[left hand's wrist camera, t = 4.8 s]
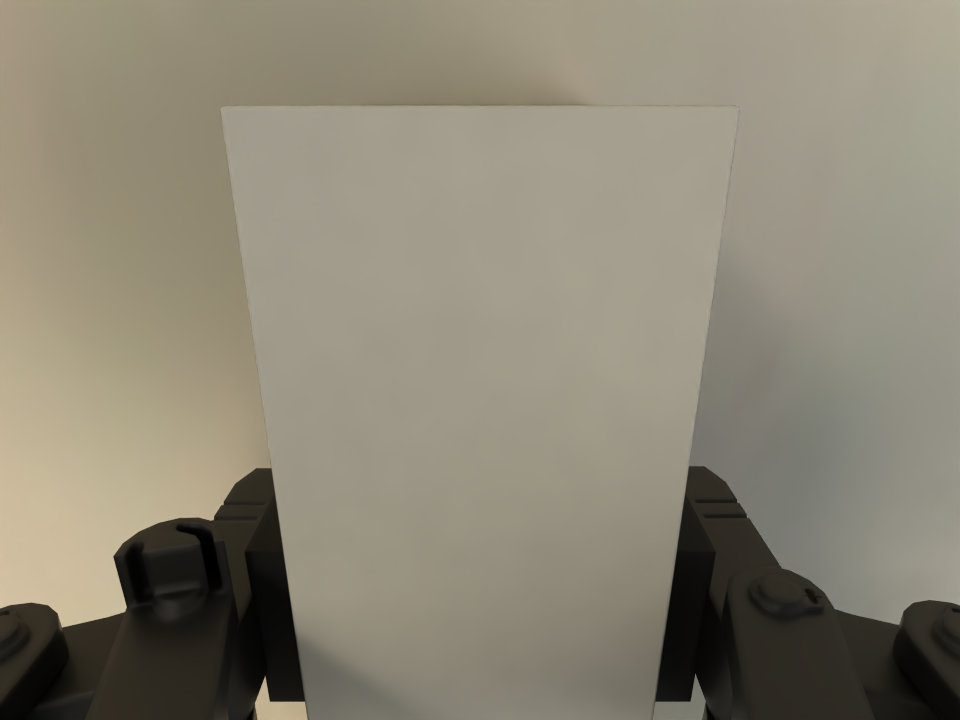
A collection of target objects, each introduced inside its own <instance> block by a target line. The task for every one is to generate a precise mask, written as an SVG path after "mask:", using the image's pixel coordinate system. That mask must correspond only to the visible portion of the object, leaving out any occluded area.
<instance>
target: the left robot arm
mask: <svg viewBox="0 0 960 720" xmlns="http://www.w3.org/2000/svg"><path fill="white" fill-rule="evenodd" d="M113 557H114V561H115V564H116V568H117V572H118V576H119V579H120V583H121V587H122V590H123V594H124V598H125V602H126V605H127V609H126V611H125V612H124V613H121V614H117V615H114V616H111V617H107V618H103V619H98V620H94V621H89V622H85V623H81V624H76V625H72V626H68V627H63V628H62V626H61V623H60V620H59V617H58V614H57V613H56V612H55V611H54V610H53V609H52V608H50V607H49V606H48V605H42V604H36V603H25V604H17V605H10V606H7V607H4V608H1V609H0V720H257V714H256V708H255V701H256V699H257V696H258V693H259V691H260V688H261V686H262V683H263V680H264V678H265V676H266V681H267V687H268V693H269V699H270V702H305V697H304V690H303V683H302V676H301V669H300V662H299V656H298V649H297V642H296V635H295V628H294V621H293V614H292V607H291V600H290V593H289V586H288V579H287V572H286V565H285V558H284V551H283V544H282V537H281V530H280V523H279V516H278V509H277V502H276V495H275V488H274V482H273V475H272V468H256V469H255V470H254V471H252V472H251V473H249V474H248V475H247V476H245V477H244V478H243V479H241V480H240V481H239V482H237V483H236V484H235V485H234V487H233V488H232V490H231V491H230V493H229V494H228V496H227V498H226V499H225V501H224V505H221V507H220V508H219V510H218V511H217V513H216V515H215V516H214V520H212V521H209V520H205V519H202V518H178V519H174V520H170V521H165V522H161V523H158V524H155V525H153V526H151V527H149V528H146V529H144V530H142V531H140V532H138V533H137V534H135V535H134V536H133V537H131V538H130V539H128V540H127V541H126V542H124V543H123V544H122V546H121V547H120V548H119V550H118V551H117V552H116V554H115V555H114V556H113ZM695 673H696V676H697V679H698V681H699V684H700V687H701V689H702V692H703V695H704V697H705V700H706V703H705V708H704V714H703V719H702V720H960V606H959V605H956V604H953V603H948V602H940V601H933V600H928V601H922V602H916V603H913V604H912V605H910V606H909V607H908V608H907V609H906V610H904V612H903V615H902V618H901V622H900V625H895V624H891V623H887V622H882V621H878V620H873V619H869V618H865V617H860V616H856V615H852V614H849V613H845V612H842V611H838V610H835V609H834V607H833V606H832V604H831V602H830V601H829V599H828V598H827V596H826V595H825V593H824V592H823V591H822V590H820V589H819V588H818V587H817V586H816V585H814V584H813V583H812V582H811V581H809V580H808V579H806V578H804V577H802V576H800V575H798V574H796V573H794V572H792V571H789V570H785V569H782V568H781V566H780V565H779V563H778V562H777V560H776V559H775V557H774V556H773V554H772V553H771V551H770V550H769V548H768V547H767V545H766V543H765V542H764V540H763V539H762V537H761V536H760V534H759V533H758V531H757V530H756V528H755V527H754V525H753V523H752V522H751V520H750V519H749V518H747V514H746V513H745V511H744V510H743V508H742V507H741V505H740V503H737V499H736V497H735V496H734V494H733V493H732V491H731V490H730V488H729V487H728V485H727V483H726V482H725V481H724V480H722V479H721V478H719V477H718V476H717V475H715V474H714V473H713V472H711V471H710V470H708V469H707V468H706V467H704V466H689V469H688V476H687V483H686V489H685V496H684V503H683V510H682V517H681V524H680V531H679V538H678V545H677V552H676V559H675V566H674V573H673V580H672V587H671V594H670V601H669V608H668V615H667V622H666V629H665V636H664V643H663V650H662V657H661V664H660V671H659V678H658V685H657V692H656V699H655V702H690V701H691V695H692V690H693V684H694V678H695Z"/></svg>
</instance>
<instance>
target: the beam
mask: <svg viewBox="0 0 960 720" xmlns="http://www.w3.org/2000/svg"><path fill="white" fill-rule="evenodd" d="M739 112H740V111H739V107H737V106H735V105H336V106H223V107H221V111H220V113H221V120H222V127H223V134H224V140H225V147H226V154H227V161H228V168H229V175H230V182H231V189H232V196H233V203H234V210H235V217H236V224H237V231H238V238H239V245H240V252H241V259H242V266H243V273H244V280H245V287H246V294H247V301H248V308H249V314H250V321H251V328H252V335H253V342H254V349H255V356H256V363H257V370H258V377H259V384H260V391H261V398H262V405H263V412H264V419H265V426H266V433H267V440H268V447H269V454H270V461H271V468H272V475H273V482H274V488H275V495H276V502H277V509H278V516H279V523H280V530H281V537H282V544H283V551H284V558H285V565H286V572H287V579H288V586H289V593H290V600H291V607H292V614H293V621H294V628H295V635H296V642H297V649H298V656H299V662H300V669H301V676H302V683H303V690H304V697H305V704H306V711H307V718H308V720H653V713H654V706H655V699H656V692H657V685H658V678H659V671H660V664H661V657H662V650H663V643H664V636H665V629H666V622H667V615H668V608H669V601H670V594H671V587H672V580H673V573H674V566H675V559H676V552H677V545H678V538H679V531H680V524H681V517H682V510H683V503H684V496H685V489H686V483H687V476H688V469H689V462H690V455H691V448H692V441H693V434H694V427H695V420H696V413H697V406H698V399H699V392H700V385H701V378H702V371H703V364H704V357H705V350H706V343H707V336H708V329H709V322H710V315H711V308H712V301H713V294H714V287H715V280H716V273H717V266H718V259H719V252H720V245H721V238H722V231H723V224H724V217H725V210H726V203H727V196H728V189H729V182H730V175H731V168H732V161H733V154H734V147H735V140H736V133H737V126H738V119H739Z"/></svg>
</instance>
